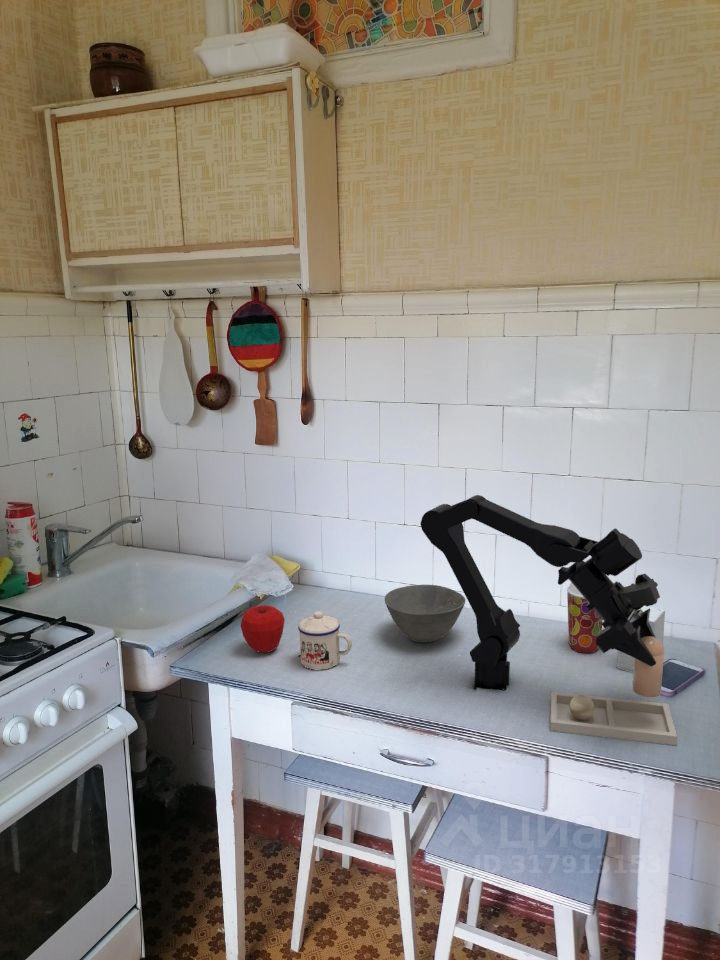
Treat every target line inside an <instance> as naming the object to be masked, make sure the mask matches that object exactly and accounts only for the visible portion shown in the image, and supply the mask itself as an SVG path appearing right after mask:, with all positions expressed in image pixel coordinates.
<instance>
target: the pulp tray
mask: <svg viewBox="0 0 720 960" xmlns="http://www.w3.org/2000/svg"><path fill="white" fill-rule="evenodd" d="M550 693H551V696H550V730H549V731H550V732H557V733H564V734H565V733H566V734H575V735H581V736H582V735H583V736H589V737H599V738H606V739H607V738H609V739H617V740H625V741H634V742H643V743H651V744H660V745H667V746H677V743H678V742H677V740H678V734H677V731H676V728H675V724H674V721H673V717H672V714H671V710H670V705H669V704H668V703H662V702H654V701H653V702H651V701H645V700H642V701H641V700H633V699H623V698H615V697H614V698H613V697H605V696H604V697H603V696H596V695H595V696H594V695H587V694H584V695H585V696H587V697H589V698H590V699H591V700H592V702H593V704H594V713H593V715H592V716H591V717H590V718H589V719H586V720H580V719H577V718H576V717H574V716H573V715H572V713H571V711H570V702H571V700H572V698H574V697H575V696H577V695H578V694H575V693H566V692H565V693H564V692H557V691H551V692H550Z"/></svg>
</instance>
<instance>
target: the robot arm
mask: <svg viewBox="0 0 720 960" xmlns="http://www.w3.org/2000/svg"><path fill="white" fill-rule="evenodd" d="M469 520H475V521H477V522H479V523H481V524H483V525H484V526H485V525H486V526H487V527H489V528H492V529H494V530H496V531H498V532H500V533H502V534H504V535H506V536H508V537H511V538H512V539H514V540H516V541H519V542H521V543H523V544H525V545H526V546H527V547H529V548H530V549H531V550H532V551H533V553H535V555H536V556H538V557H539V558H541V559H542V560H544V561H545V562H547V563H548V564H550V565H551V566H553V567H556V568H559V569H558V570H557V571H558V572H557V573H558V579H557V585H559V586H561V585H563V584H564V583H566V581H568V580H569V582H570V583H571V582H572V584H573V585H574V586H575V587H576V588H577V590H578V591H579V592H580V593H581V594H582V595H583V597H584V598H585V599H586V600H587V601H588V604H587V606H586V607H587V608H588V609H589V610H591V609H594V610H595V611H596V612H597V613H598V614H599V616H600V617H601V618H602V619H603V623H602V624H601V625H602V631H601V632H600V633H599V635H598V636H597V637H596V645H597V646H598V648H597V649H599V651H600V652H601V653H602V654H605V653H607V652H608V651H610V650H617V652H618V651H620V652H623V653H625V654H627V655H629V656H632V657H634V658H636V659H638V660H640V661H642V662H644V663H646V664H648V665H650V666H654V665H655V664H656V661H655V659H654V658H653V656H652V654H651V653H650V651H649V650H648V649H647V647H646V646H645V644H644V643H643V641H642V640H641V638H642V637H645V636H652V637H655V635H654V633H653V631H652V629H651V626H650V624H649V614H650V608H649V609H647V610H646V611H644V612H643V611H642V610H641V608H642V607H643V606H648V607H652V606H653V605H656V604H657V603H658V599H660V598H661V596H660V592H659V590H658V588H657V587H658V584H659V583H658V582H656V581H655V580H654V578H651V577H650V576H649V575H647V574H646V573H641V574H637V576H636V577H635V582H632V583H631V584H630V585H628V586H624V585H622V583H621V582H619V581H615V582H613V581H612V580H611V579H610V577H609V576H613V577H617V576H619V575H620V574H621V573H623V572H624V571H626V570H627V569H629V568H630V567H632V565H634V564H635V563H636V564H637V562H638V561H640V560H641V559H642V558H643V554H642V553H643V552H642V551H641V549H640V547H639V546H638V544H637V543H636V541H635V540H634V539H633V538H630V537H629V536H628V535H626V534H625V533H623V532H620V531H619V530H618V529H617V528H613V529H612V530H610V532H608V533H607V535H606V536H604V537H603V538H602V539H600V540H593V539H590V538H587V537H582V536H580V535H579V534H578V533H576V532H575V531H574V530H572V529H569V528H566V527H561V526H558V525H554V524H545V523H539V522H536V521H534V520H531V519H529V518H528V517H525V516H523V515H521V514H519V513H516V512H515V511H513V510H510V509H508V508H506V507H504V506H502V505H499V504H497V503H495V502H492V501H490V500H489V499H486V498H485V497H484V496H483V495H480V494H476V495H475V494H474V495H473V496H471V497H469V498H468V499H465V500H463V501H461V502H457V503H456V504H453V505H452V504H449V503H442V504H439V505H437V506H436V507H435V506H434V507H433V508H432V509H430V510H429V509H428V511H426V512H424V514H423V515H422V516H421V520H420V527H421V531H422V532H423V534H424V535H425V537H427V540H428V541H429V542H430V543H431V545H433V546H434V547H436V548H437V549H438V550H439V551H440V552H442V554H443V555H444V557H445V559H446V561H447V563H448V565H449V566H450V568H451V570H452V573H453V574H454V576H455V578H456V581H457V582H458V584H459V585H460V586H459V587H460V588H461V590H462V591H463V593H464V597H465V599H467V602H468V603H469V605H470V608H471V609H472V612H473V613H474V616H475V619H476V631H477V632H476V633H477V636H478V639H479V642H478V643H477V644H476V645H475V646H474V647H473V648H472V649H471V650H470V651H469V655H470V658H471V662H473V663H474V682H473V687H472V688H473V689H474V690H477V689H482V690H483V689H486V690H495V691H506V690H507V687H508V686H509V685H510V680H511V679H510V677H511V676H510V675H511V673H510V672H511V662H510V661H509V660H508V653H509V652H510V650H511V649H512V648H513V647H514V646H515V645H516V644H518V641H520V640H519V639H520V636H521V631H520V629H519V628H520V627H521V625H520V623H519V622H518V621H517V620H516V618H515V616H514V613H513V610H512V609H511V608H509V609H506V610H504V609H503V608H501V607H500V606H499V605H498V604H497V602H496V601H495V599H494V596H493V594H492V593H491V590H490V589H489V587H488V585H487V583H486V581H485V579H484V577H483V575H482V573H481V571H480V569H479V568H478V566H477V563H476V561H475V560H474V558H473V556H472V554H471V552H470V550H469V548H468V546H467V544H466V542H465V533H464V531H465V529H464V524H463V523H464V522H466V521H469ZM588 557H590V558H588ZM587 558H588V559H587ZM586 559H587V560H586ZM584 560H585V561H584ZM570 563H572V564H571V565H569V564H570ZM568 565H569V567H567V566H568ZM639 609H640V610H639ZM655 638H656V637H655Z"/></svg>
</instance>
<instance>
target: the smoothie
mask: <svg viewBox="0 0 720 960" xmlns="http://www.w3.org/2000/svg"><path fill="white" fill-rule="evenodd" d="M566 592H567V593H566V595H567V597H566V599H567V624H568V625H567V630H568V643H569V644H570V647H571V649H572V650H574V651H576V652H578V653H583V654H584V653H585V654H588V653H589V654H590V653H594V652H597V651H598V649H599V648H598V646H597V645H596V637H597V636H598V635H599V633H600V632H601V631H602V630H603V626H602V625H601V624H602V623H603V621H604V620H603V619H602V618H601V617H600V616H599V614H598V613H597V612H596V611H595V610H594V609H591V610H589V609H588V608H587V607H586V606H587V604H588V601H587V600H586V599H585V598H584V597H583V595H582V594H581V593H580V592H579V591H578V590H577V588H576V587H575V586H574V585H573V584H572V582H571V581H570V584H569V586H567V589H566Z"/></svg>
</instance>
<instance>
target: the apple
mask: <svg viewBox="0 0 720 960" xmlns="http://www.w3.org/2000/svg"><path fill="white" fill-rule="evenodd" d="M284 625H285V616H284V613H283V612H281V611H280V610H279V609H278V608H276V607H275V606H272V605H267V604H264V605H263V604H262V605H256V606H253V607H249V608H248V609H247V610H246V611H245V612H244V613H243V614H242V617H241V622H240V629H241V632H242V637H243V638H244V640H245V641H246V645H248V647H249V648H250V649H251V650H254V651H255V652H257V651H259V652H258V653H260V652H267V653H269V652H268V651H270V652H272V651H274V650H275V649H277V647H278V646H279V644H280V642H281V640H282V635H283V632H284V627H285V626H284ZM273 649H274V650H273ZM271 650H272V651H271Z"/></svg>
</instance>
